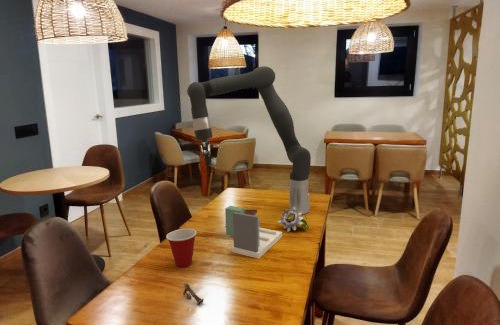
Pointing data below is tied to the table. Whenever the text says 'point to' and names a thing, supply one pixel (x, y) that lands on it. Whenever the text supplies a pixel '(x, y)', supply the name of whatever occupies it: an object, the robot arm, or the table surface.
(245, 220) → the book rack
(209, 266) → the table surface
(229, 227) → the green book
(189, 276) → the table surface
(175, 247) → the plastic cup
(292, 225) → the passion flower
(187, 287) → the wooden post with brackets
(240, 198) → the table surface
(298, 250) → the table surface
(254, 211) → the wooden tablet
